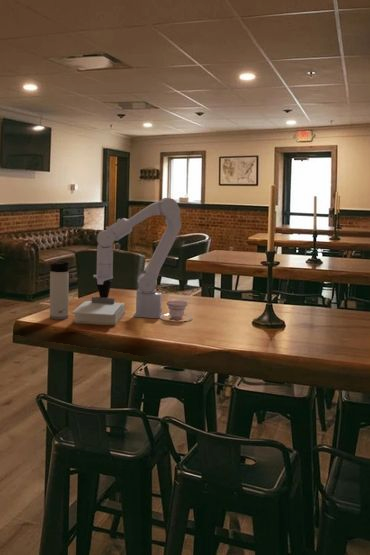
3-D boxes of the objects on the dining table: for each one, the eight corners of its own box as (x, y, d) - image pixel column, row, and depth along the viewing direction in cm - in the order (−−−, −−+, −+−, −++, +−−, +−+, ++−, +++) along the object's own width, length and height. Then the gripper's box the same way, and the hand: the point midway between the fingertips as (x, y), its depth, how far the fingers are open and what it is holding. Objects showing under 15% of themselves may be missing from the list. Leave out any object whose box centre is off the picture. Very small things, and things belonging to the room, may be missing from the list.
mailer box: (124, 313, 198) (124, 303, 197) (115, 325, 180) (115, 313, 179) (87, 311, 198) (87, 300, 198) (74, 323, 181) (74, 311, 180)
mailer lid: (122, 304, 193) (122, 297, 193) (112, 316, 175) (113, 308, 174) (85, 302, 194) (85, 295, 193) (71, 313, 176) (71, 306, 175)
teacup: (188, 324, 187) (189, 307, 186) (155, 321, 189) (156, 304, 188) (195, 316, 198) (196, 300, 198) (164, 313, 201) (164, 297, 200)
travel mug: (64, 320, 183) (65, 263, 180) (46, 318, 185) (47, 261, 181) (71, 316, 189) (72, 261, 186) (54, 314, 191) (55, 259, 187)
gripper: (98, 260, 198) (97, 296, 200) (88, 265, 184) (88, 304, 186) (117, 261, 198) (116, 297, 200) (109, 267, 184) (108, 305, 186)
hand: (103, 300), depth 193 cm, fingers closed
